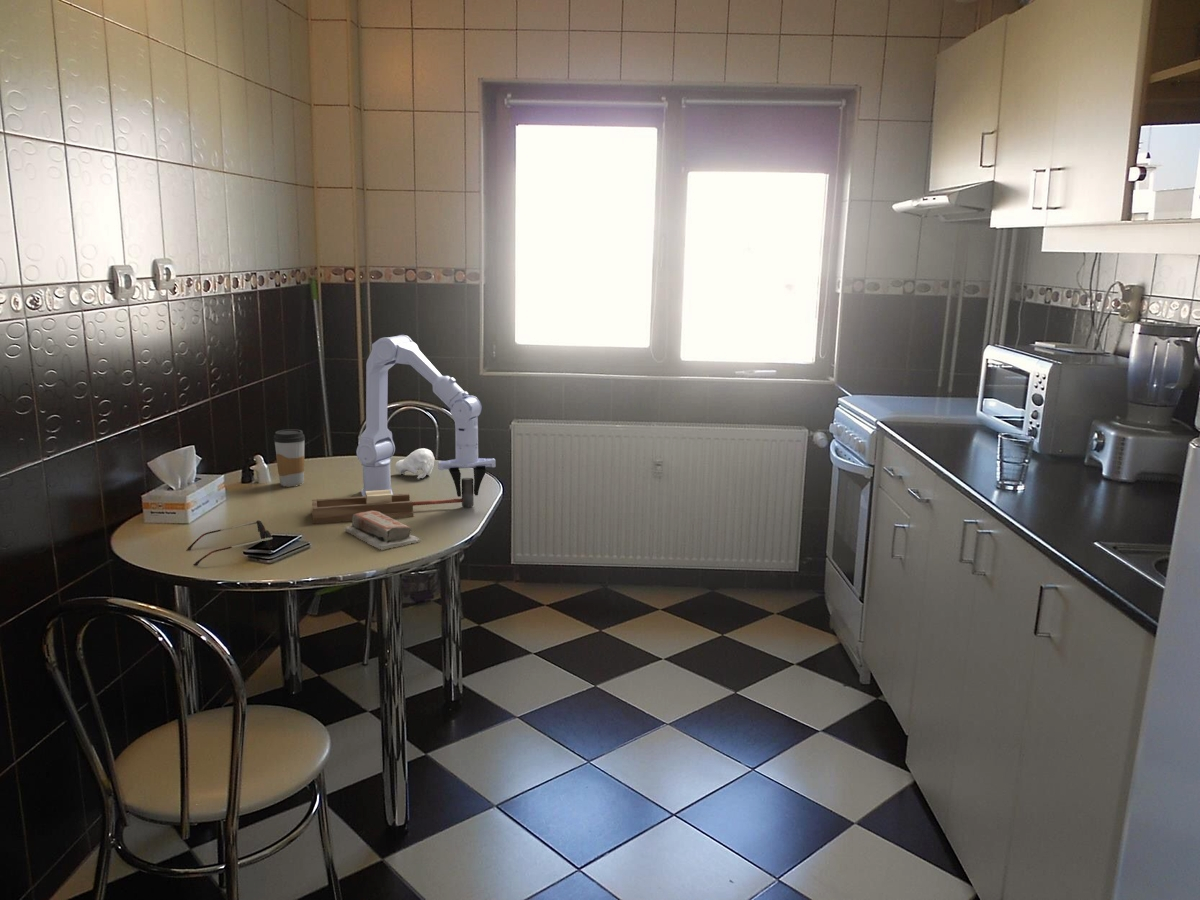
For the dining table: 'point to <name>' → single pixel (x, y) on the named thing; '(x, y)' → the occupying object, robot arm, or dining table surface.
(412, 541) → the packaged product
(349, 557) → the dining table surface
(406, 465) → the white animal figurine
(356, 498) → the lane tray
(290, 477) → the coffee cup
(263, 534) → the sunglasses
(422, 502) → the grey and red rod
